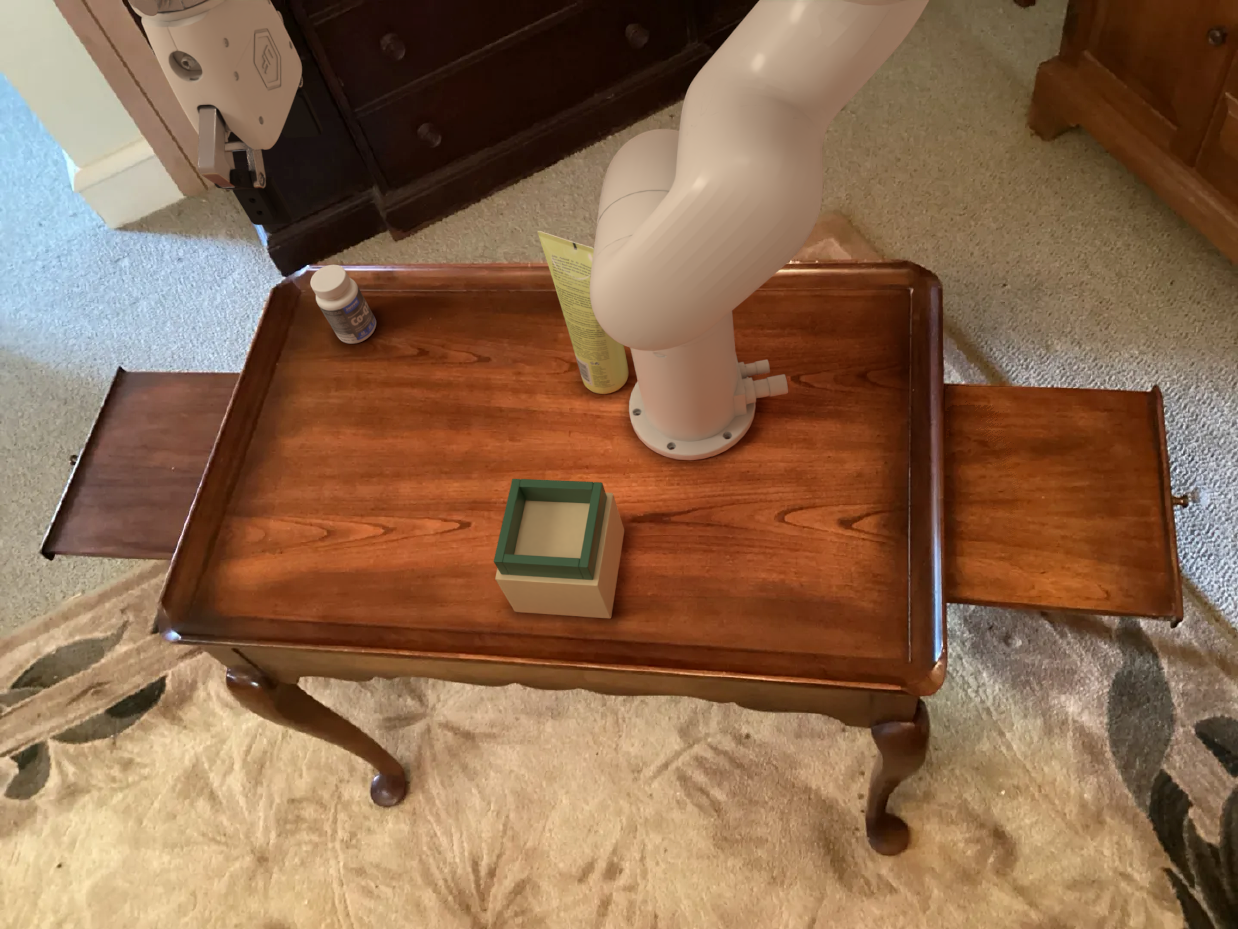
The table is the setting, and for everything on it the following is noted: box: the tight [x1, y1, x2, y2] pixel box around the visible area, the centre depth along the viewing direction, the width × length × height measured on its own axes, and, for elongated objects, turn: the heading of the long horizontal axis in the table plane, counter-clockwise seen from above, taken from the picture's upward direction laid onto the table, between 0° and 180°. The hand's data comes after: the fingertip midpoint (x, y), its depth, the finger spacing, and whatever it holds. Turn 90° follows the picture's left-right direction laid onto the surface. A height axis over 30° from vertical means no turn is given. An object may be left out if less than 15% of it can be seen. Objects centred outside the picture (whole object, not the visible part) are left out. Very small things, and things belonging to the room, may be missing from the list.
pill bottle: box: [309, 264, 377, 345], centre depth 106 cm, size 5×5×8 cm
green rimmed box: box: [493, 478, 625, 619], centre depth 85 cm, size 9×9×10 cm
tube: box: [537, 230, 630, 395], centre depth 92 cm, size 6×5×20 cm
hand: (289, 176), depth 75 cm, fingers open, 9 cm apart
